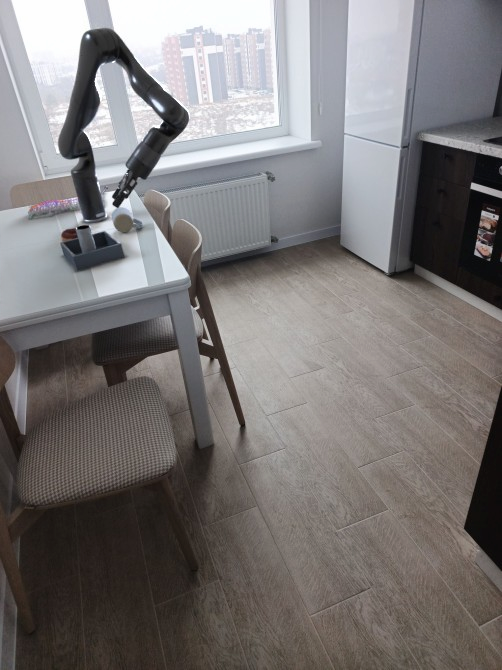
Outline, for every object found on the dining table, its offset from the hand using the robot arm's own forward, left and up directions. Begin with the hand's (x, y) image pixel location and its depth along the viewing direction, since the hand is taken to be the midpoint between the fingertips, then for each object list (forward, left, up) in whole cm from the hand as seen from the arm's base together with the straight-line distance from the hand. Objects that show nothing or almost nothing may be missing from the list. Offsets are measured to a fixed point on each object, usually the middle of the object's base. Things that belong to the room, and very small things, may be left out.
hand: (114, 202), depth 150 cm
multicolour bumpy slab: (-69, -3, -17) cm, 71 cm away
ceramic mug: (-22, +9, -17) cm, 29 cm away
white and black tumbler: (-3, -11, -17) cm, 20 cm away
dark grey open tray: (-4, -10, -17) cm, 20 cm away
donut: (-24, -10, -17) cm, 31 cm away
